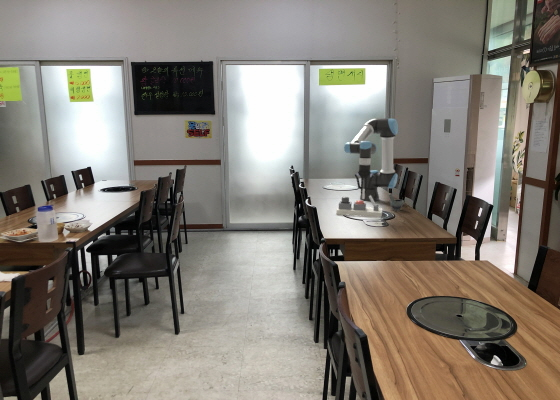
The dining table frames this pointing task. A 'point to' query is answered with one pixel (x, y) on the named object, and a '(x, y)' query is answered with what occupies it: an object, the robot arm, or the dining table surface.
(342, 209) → the console
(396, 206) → the mortar and pestle
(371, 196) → the lever
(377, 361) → the dining table surface
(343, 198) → the button black
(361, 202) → the button red
